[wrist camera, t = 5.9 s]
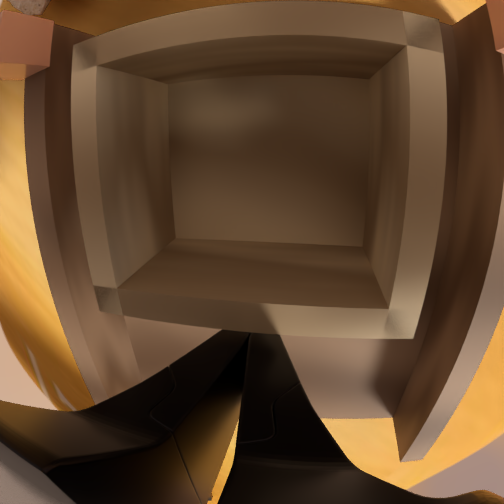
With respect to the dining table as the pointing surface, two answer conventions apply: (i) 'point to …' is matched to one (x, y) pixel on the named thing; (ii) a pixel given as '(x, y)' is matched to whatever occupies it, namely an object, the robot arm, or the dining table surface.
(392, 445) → the dining table surface
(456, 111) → the bay
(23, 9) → the stone
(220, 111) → the box
